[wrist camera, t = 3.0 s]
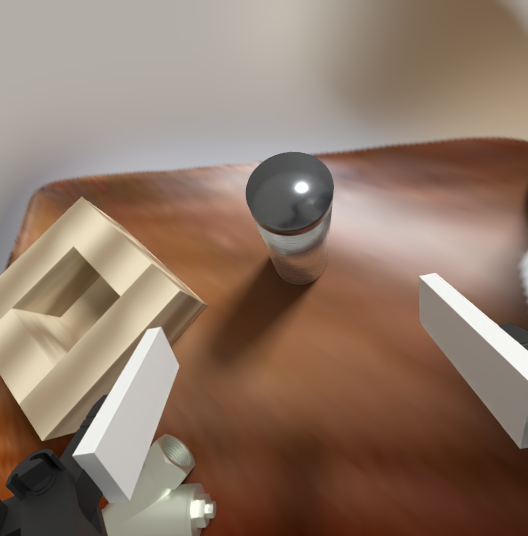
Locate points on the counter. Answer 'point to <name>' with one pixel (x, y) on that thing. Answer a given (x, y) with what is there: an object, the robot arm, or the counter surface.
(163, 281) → the socket block
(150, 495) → the pipe fitting
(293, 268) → the capped cylinder
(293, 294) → the counter surface
